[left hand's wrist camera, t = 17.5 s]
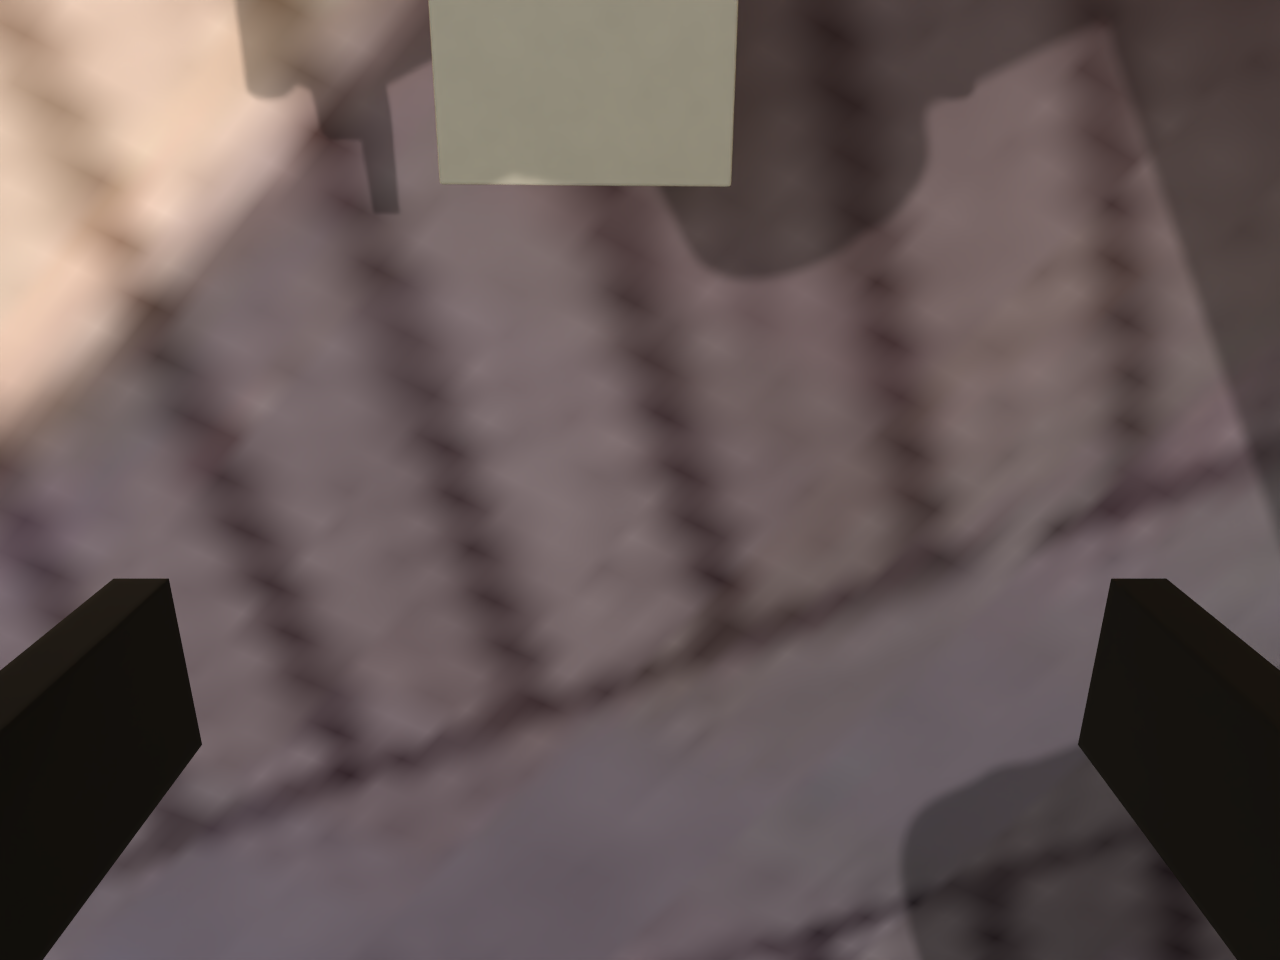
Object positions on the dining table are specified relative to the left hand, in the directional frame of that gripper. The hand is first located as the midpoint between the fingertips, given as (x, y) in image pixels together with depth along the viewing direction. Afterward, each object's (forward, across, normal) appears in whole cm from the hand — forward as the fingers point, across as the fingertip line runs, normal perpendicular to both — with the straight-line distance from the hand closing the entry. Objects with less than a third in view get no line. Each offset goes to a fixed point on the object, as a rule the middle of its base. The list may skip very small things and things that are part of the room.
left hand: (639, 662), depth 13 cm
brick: (+16, +1, -9) cm, 18 cm away
